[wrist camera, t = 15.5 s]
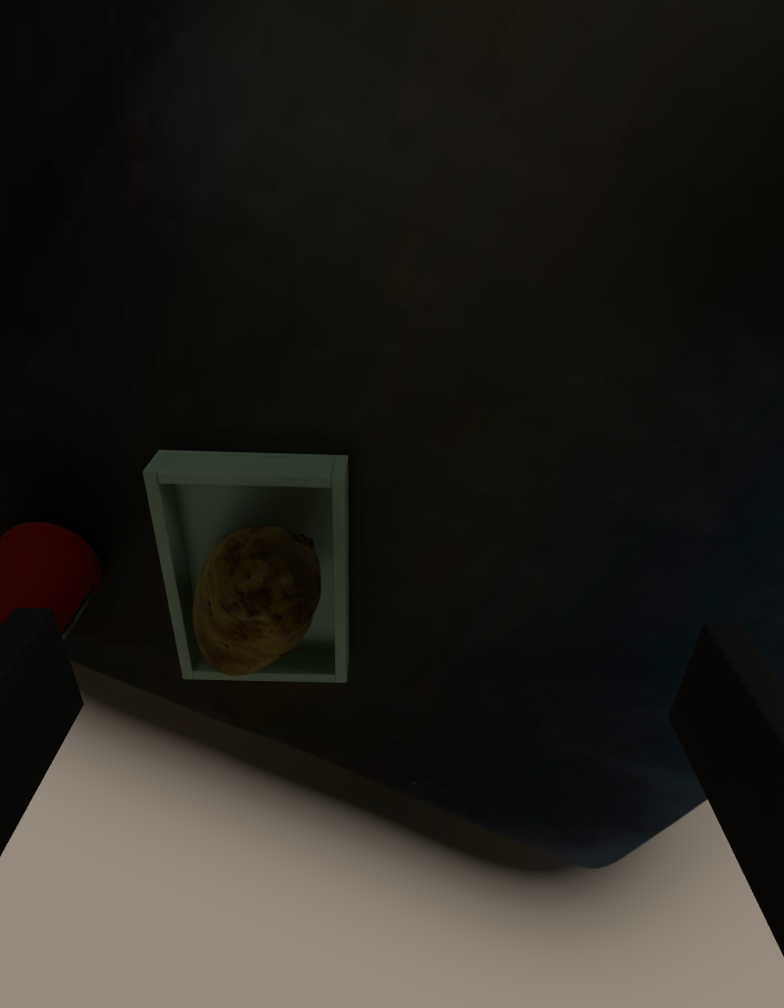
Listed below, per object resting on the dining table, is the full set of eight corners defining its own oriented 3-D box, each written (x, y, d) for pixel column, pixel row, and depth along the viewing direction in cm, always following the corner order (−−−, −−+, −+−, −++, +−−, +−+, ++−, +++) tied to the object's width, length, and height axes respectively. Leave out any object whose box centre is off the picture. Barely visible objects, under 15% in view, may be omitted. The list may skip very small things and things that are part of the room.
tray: (348, 455, 38) (345, 477, 35) (349, 654, 46) (346, 683, 44) (158, 449, 38) (141, 471, 35) (194, 650, 46) (182, 679, 43)
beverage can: (30, 600, 44) (-82, 743, 33) (-14, 520, 40) (-155, 652, 30) (122, 590, 43) (37, 732, 33) (85, 509, 40) (-23, 638, 29)
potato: (153, 587, 42) (106, 673, 35) (272, 470, 38) (246, 543, 31) (248, 650, 45) (222, 741, 38) (369, 549, 41) (365, 631, 34)
